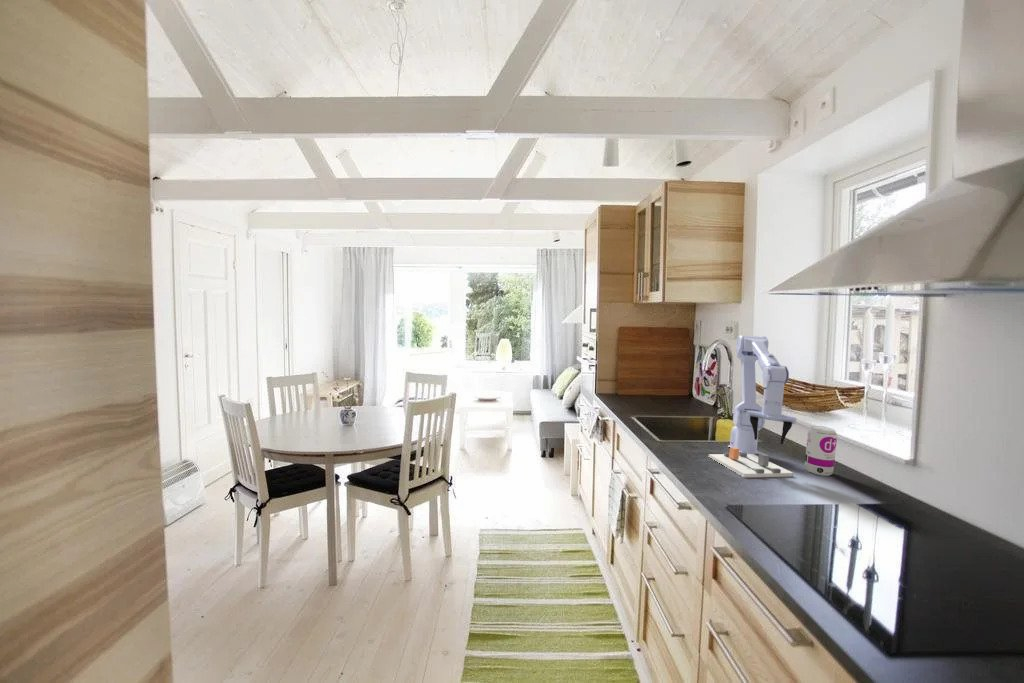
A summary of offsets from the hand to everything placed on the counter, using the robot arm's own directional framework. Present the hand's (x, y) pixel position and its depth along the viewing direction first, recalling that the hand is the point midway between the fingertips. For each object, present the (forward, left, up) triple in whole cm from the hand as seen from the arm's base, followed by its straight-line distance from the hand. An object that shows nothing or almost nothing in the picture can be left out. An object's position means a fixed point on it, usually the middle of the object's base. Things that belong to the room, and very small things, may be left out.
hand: (768, 441), depth 158 cm
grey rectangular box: (0, -2, -8) cm, 8 cm away
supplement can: (+3, +17, -10) cm, 20 cm away
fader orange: (-7, -8, -8) cm, 13 cm away
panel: (-3, -5, -10) cm, 11 cm away
